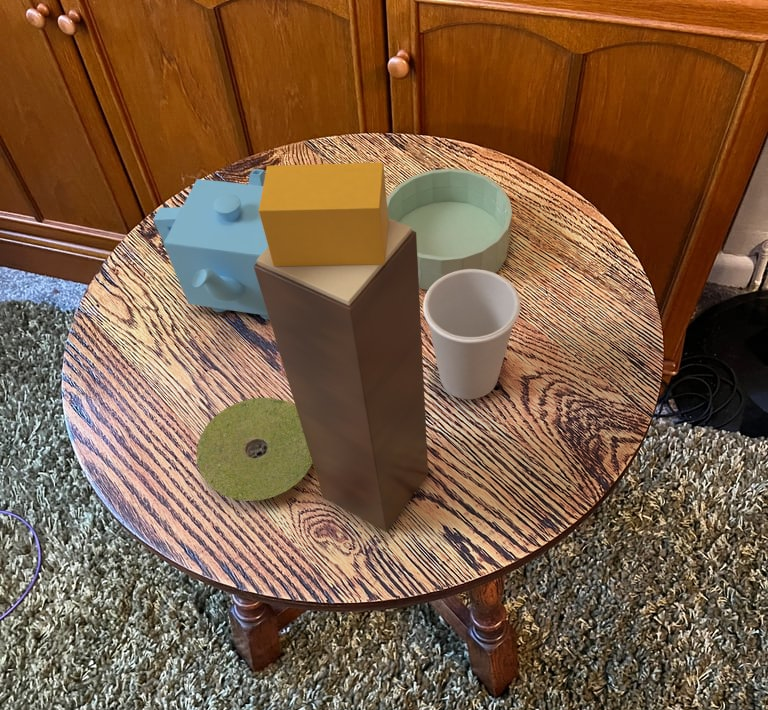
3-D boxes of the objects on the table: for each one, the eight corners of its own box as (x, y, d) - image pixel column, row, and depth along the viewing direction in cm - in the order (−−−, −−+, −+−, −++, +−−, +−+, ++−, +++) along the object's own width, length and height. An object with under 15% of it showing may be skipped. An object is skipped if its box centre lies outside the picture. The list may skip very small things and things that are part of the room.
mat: (251, 391, 76) (246, 379, 74) (343, 439, 73) (341, 428, 71) (178, 475, 72) (171, 464, 70) (272, 531, 69) (267, 521, 67)
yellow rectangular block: (388, 220, 46) (383, 161, 42) (385, 265, 44) (379, 207, 40) (280, 222, 46) (266, 165, 43) (273, 266, 45) (258, 210, 41)
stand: (428, 474, 70) (416, 226, 45) (386, 533, 68) (349, 304, 43) (365, 441, 72) (320, 188, 47) (322, 497, 70) (251, 260, 45)
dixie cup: (530, 382, 74) (540, 309, 65) (460, 425, 72) (461, 356, 64) (477, 329, 78) (480, 253, 69) (409, 369, 76) (404, 296, 67)
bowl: (531, 228, 84) (535, 193, 80) (468, 309, 79) (469, 277, 75) (426, 188, 88) (425, 154, 84) (361, 263, 83) (356, 231, 79)
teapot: (342, 241, 85) (327, 151, 75) (293, 368, 77) (270, 287, 67) (209, 224, 88) (178, 136, 78) (150, 346, 80) (107, 264, 70)
